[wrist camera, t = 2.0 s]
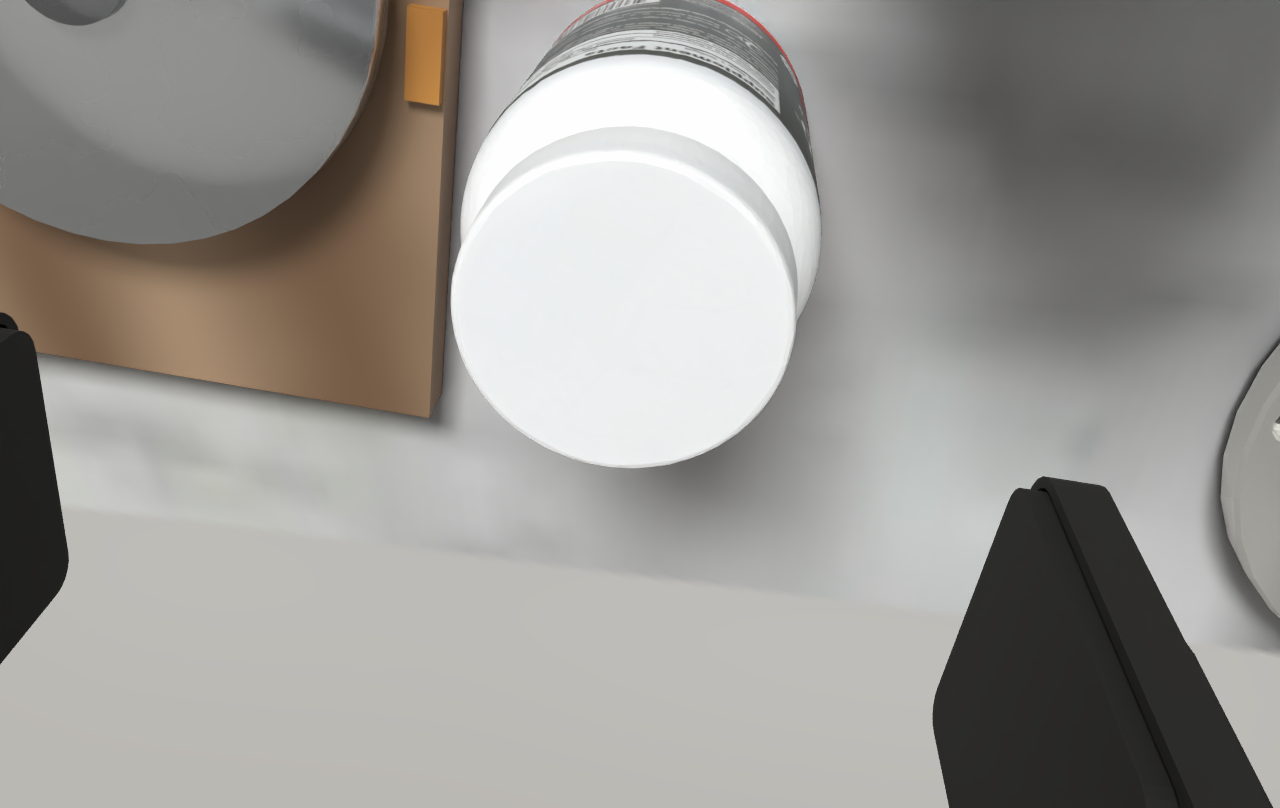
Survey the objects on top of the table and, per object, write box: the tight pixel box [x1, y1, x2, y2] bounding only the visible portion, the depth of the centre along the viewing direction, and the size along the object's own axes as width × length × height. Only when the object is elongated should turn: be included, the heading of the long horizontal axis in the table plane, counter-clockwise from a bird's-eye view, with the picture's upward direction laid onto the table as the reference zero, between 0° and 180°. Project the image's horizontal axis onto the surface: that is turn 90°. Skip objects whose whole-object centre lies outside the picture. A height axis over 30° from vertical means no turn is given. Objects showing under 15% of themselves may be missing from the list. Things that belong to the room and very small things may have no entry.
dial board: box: [0, 0, 463, 418], centre depth 23 cm, size 16×16×2 cm
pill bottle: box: [451, 0, 821, 468], centre depth 19 cm, size 6×6×10 cm
